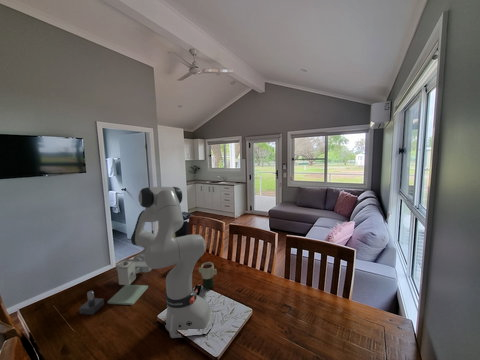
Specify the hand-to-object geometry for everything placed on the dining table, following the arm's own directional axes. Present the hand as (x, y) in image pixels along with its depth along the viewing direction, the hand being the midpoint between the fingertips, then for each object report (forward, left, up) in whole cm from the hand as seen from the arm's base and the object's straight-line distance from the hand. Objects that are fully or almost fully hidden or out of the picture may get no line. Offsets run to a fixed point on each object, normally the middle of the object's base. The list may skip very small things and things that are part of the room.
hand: (125, 273), depth 107 cm
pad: (0, -1, -13) cm, 13 cm away
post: (+12, +10, -13) cm, 20 cm away
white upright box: (0, -1, -5) cm, 5 cm away
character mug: (-42, -11, -13) cm, 45 cm away
